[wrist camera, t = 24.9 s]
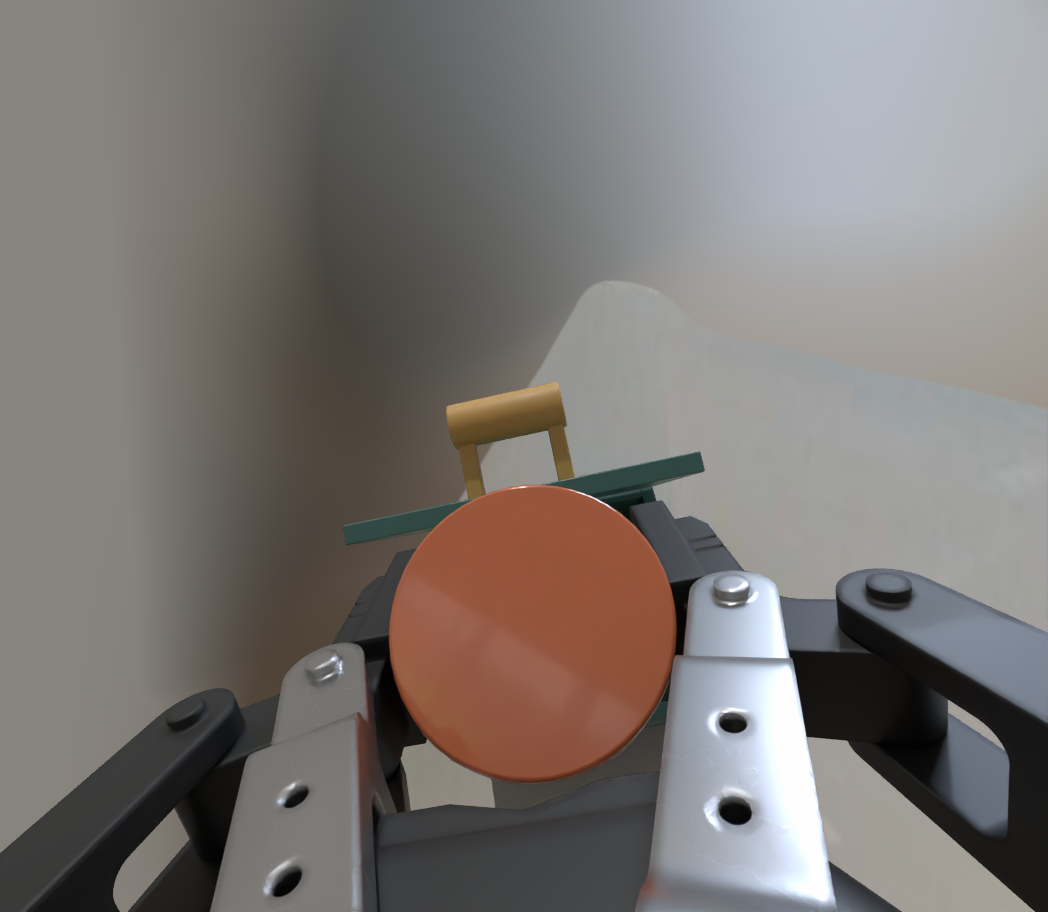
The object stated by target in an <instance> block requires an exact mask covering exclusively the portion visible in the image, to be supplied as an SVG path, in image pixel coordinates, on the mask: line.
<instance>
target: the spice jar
mask: <svg viewBox="0 0 1048 912" xmlns="http://www.w3.org/2000/svg"><path fill="white" fill-rule="evenodd" d="M676 646H677V617H676V607H675V602H674V598H673V593H672V589H671V586H670V584H669V580H668V577H667V574H666V572H665V569H664V567H663V565H662V563H661V562H660V560H659V558H658V556H657V554H656V552H655V551H654V549H653V548H652V546H651V545H650V543H649V542H648V540H647V539H646V538H645V537H644V536H643V534H642V533H641V532H640V531H639V530H638V529H637V528H636V527H635V525H633V524H632V523H631V522H630V521H629V520H628V519H627V518H625V517H624V516H623V515H622V514H621V513H619V512H618V511H616V510H615V509H613V508H612V507H611V506H609V505H608V504H606V503H604V502H602V501H600V500H598V499H596V498H594V497H592V496H590V495H587V494H584V493H581V492H578V491H576V490H571V489H567V488H562V487H558V486H548V485H523V486H516V487H509V488H505V489H501V490H498V491H494V492H491V493H488V494H486V495H483V496H481V497H478V498H476V499H474V500H472V501H470V502H468V503H467V504H465V505H463V506H461V507H460V508H458V509H457V510H455V511H454V512H453V513H451V514H450V515H448V516H447V517H446V518H445V519H444V520H443V521H441V522H440V523H439V524H438V525H437V526H436V527H435V528H434V529H433V530H432V531H431V532H430V533H429V534H428V536H427V537H426V538H425V539H424V540H423V541H422V543H421V544H420V546H419V547H418V548H417V550H416V551H415V552H414V554H413V555H412V557H411V559H410V561H409V563H408V564H407V566H406V568H405V570H404V572H403V575H402V577H401V580H400V582H399V584H398V587H397V590H396V594H395V597H394V601H393V605H392V611H391V618H390V626H389V649H390V661H391V666H392V670H393V675H394V680H395V683H396V685H397V688H398V691H399V694H400V697H401V699H402V701H403V703H404V705H405V707H406V709H407V711H408V713H409V715H410V717H411V718H412V720H413V721H414V722H415V724H416V725H417V727H418V728H419V729H420V731H421V732H422V734H423V735H424V736H425V737H426V738H427V739H428V740H429V741H430V742H431V743H432V744H433V745H434V746H435V747H436V748H437V749H438V750H439V751H441V752H442V753H443V754H444V755H446V756H447V757H448V758H449V759H451V760H452V761H454V762H455V763H457V764H459V765H461V766H462V767H464V768H466V769H468V770H469V771H472V772H474V773H477V774H479V775H482V776H484V777H487V778H490V779H494V780H499V781H503V782H508V783H518V784H540V783H552V782H556V781H560V780H564V779H568V778H573V777H575V776H578V775H580V774H583V773H585V772H587V771H590V770H592V769H594V768H596V767H598V766H600V765H602V764H604V763H606V762H608V761H610V760H612V759H613V758H615V757H617V756H618V755H619V754H621V753H622V752H623V751H624V750H625V749H627V748H628V747H629V745H630V744H631V743H632V742H633V741H634V740H635V739H636V737H637V736H638V735H639V733H640V732H641V731H642V729H643V728H644V727H645V725H646V724H647V722H648V721H649V719H650V718H651V716H652V715H653V714H654V712H655V711H656V709H657V707H658V705H659V703H660V701H661V699H662V697H663V695H664V693H665V691H666V688H667V685H668V682H669V679H670V676H671V673H672V666H673V660H674V657H675V654H676Z"/></svg>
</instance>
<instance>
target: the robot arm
mask: <svg viewBox="0 0 1048 912" xmlns="http://www.w3.org/2000/svg"><path fill="white" fill-rule="evenodd" d="M630 517H631V523H632V524H633V525H635V527H636V528H637V529H638V530H639V531H640V532H641V533H642V534H643V536H644V537H645V538H646V539H647V540H648V542H649V543H650V545H651V546H652V548H653V549H654V551H655V552H656V554H657V556H658V558H659V560H660V562H661V563H662V565H663V567H664V569H665V572H666V574H667V577H668V580H669V584H670V586H671V589H672V593H673V598H674V602H675V607H676V617H677V646H676V654H675V657H674V660H673V666H672V675H671V683H670V692H669V701H668V709H667V718H666V726H665V735H664V744H663V752H662V761H661V769H660V770H656V771H650V772H644V773H638V774H632V775H626V776H620V777H614V778H608V779H601V780H598V781H595V782H593V783H591V784H588V785H586V786H583V787H581V788H578V789H576V790H573V791H571V792H568V793H566V794H563V795H561V796H559V797H556V798H554V799H551V800H549V801H546V802H544V803H541V804H539V805H536V806H534V807H531V808H528V809H524V810H512V809H500V808H488V807H475V806H463V805H451V804H450V805H444V806H438V807H432V808H426V809H419V810H413V811H411V809H410V801H409V794H408V787H407V779H406V774H405V770H404V767H403V765H402V762H401V756H402V752H403V748H404V747H407V746H413V745H418V744H424V743H426V740H427V738H426V737H425V736H424V735H423V734H422V732H421V731H420V729H419V728H418V727H417V725H416V724H415V722H414V721H413V720H412V718H411V717H410V715H409V713H408V711H407V709H406V707H405V705H404V703H403V701H402V699H401V697H400V694H399V691H398V688H397V685H396V683H395V680H394V675H393V670H392V666H391V661H390V649H389V626H390V618H391V611H392V605H393V601H394V597H395V594H396V590H397V587H398V584H399V582H400V580H401V577H402V575H403V572H404V570H405V568H406V566H407V564H408V563H409V561H410V559H411V557H412V555H413V554H414V552H415V551H416V550H417V549H411V550H406V551H402V552H397V553H396V555H395V557H394V559H393V561H392V563H391V565H390V566H389V568H388V571H387V572H386V574H385V576H380V577H377V578H376V579H375V580H374V581H373V582H372V583H370V584H369V585H368V586H367V587H366V588H365V589H364V590H362V592H361V594H360V596H359V597H358V599H357V601H356V603H355V606H354V607H353V608H352V610H351V612H350V614H349V618H347V619H346V621H345V622H344V624H343V626H342V628H341V629H340V632H339V633H338V635H337V637H336V638H335V640H334V642H333V644H332V645H329V646H326V647H324V648H321V649H319V650H317V651H315V652H312V653H311V654H309V655H307V656H306V657H304V658H303V659H301V660H300V661H299V662H297V663H296V664H295V665H294V666H293V667H292V668H291V669H290V670H289V671H288V673H287V674H286V676H285V678H284V680H283V683H282V688H281V693H280V694H278V695H276V696H273V697H271V698H268V699H265V700H263V701H260V702H258V703H255V704H252V705H250V706H247V707H245V708H242V709H240V708H239V706H238V704H237V701H236V699H235V697H234V695H233V692H231V691H230V690H228V689H224V688H217V689H211V690H206V691H203V692H200V693H197V694H195V695H192V696H190V697H188V698H186V699H184V700H182V701H180V702H179V703H177V704H175V705H173V706H172V707H170V708H169V709H167V710H166V711H165V712H163V713H162V714H161V715H160V716H158V717H157V718H156V719H155V720H154V721H153V722H151V723H150V724H149V725H148V726H147V727H146V728H144V730H142V731H141V732H140V733H139V734H138V735H137V736H135V737H134V738H133V739H132V740H131V741H130V742H128V743H127V744H126V745H125V746H124V747H123V748H121V749H120V750H119V751H118V752H117V753H116V754H115V755H113V756H112V757H111V758H110V759H109V760H108V761H106V762H105V763H104V764H103V765H102V766H101V767H99V768H98V769H97V770H96V771H95V772H94V773H92V774H91V775H90V776H89V777H88V778H87V779H86V780H84V781H83V782H82V783H81V784H80V785H79V786H77V788H75V789H74V790H73V791H72V792H71V793H69V794H68V795H67V796H66V797H65V798H64V799H62V800H61V801H60V802H59V803H58V804H57V805H56V806H54V807H53V808H52V809H51V810H50V811H49V812H48V813H46V814H45V815H44V816H43V817H42V818H40V819H39V820H38V821H37V822H36V823H35V824H33V825H32V826H31V827H30V828H29V829H28V830H27V831H25V832H24V833H23V834H22V835H21V836H20V837H18V838H17V839H16V840H15V841H14V842H13V843H11V844H10V845H9V846H8V847H7V848H6V849H5V850H4V851H2V852H1V853H0V912H120V911H119V910H118V908H117V906H116V905H115V902H114V900H113V888H114V883H115V879H116V877H117V874H118V872H119V870H120V868H121V866H122V865H123V863H124V862H125V860H126V859H127V858H128V857H129V856H130V854H131V853H132V852H133V851H134V850H135V849H136V848H137V847H138V846H139V845H140V844H141V843H142V842H143V841H144V839H145V838H146V837H147V836H148V835H149V834H150V833H151V832H152V831H153V830H154V829H155V828H156V826H158V825H159V823H160V822H161V821H162V820H163V819H164V818H165V817H166V816H167V815H168V814H169V813H170V812H171V811H172V810H173V809H174V808H175V810H176V812H177V814H178V816H179V818H180V820H181V822H182V824H183V826H184V828H185V830H186V832H187V834H188V836H189V838H190V840H189V841H188V842H187V843H186V845H185V846H184V847H183V848H182V849H181V850H180V851H179V853H178V854H177V855H176V856H175V857H174V858H173V860H172V861H171V862H170V863H169V864H168V865H167V867H166V868H165V869H164V870H163V871H162V872H161V874H160V875H159V876H158V877H157V878H156V879H155V881H154V882H153V883H152V884H151V885H150V886H149V888H148V889H147V890H146V891H145V892H144V893H143V895H142V896H141V897H140V898H139V899H138V901H137V902H136V903H135V904H134V905H133V906H132V907H131V909H130V910H129V911H128V912H901V911H900V910H898V909H897V908H896V907H894V906H893V905H891V904H890V903H888V902H887V901H886V900H884V899H883V898H881V897H880V896H878V895H877V894H875V893H874V892H873V891H871V890H870V889H868V888H867V887H865V886H864V885H863V884H861V883H860V882H858V881H857V880H855V879H854V878H852V877H851V876H850V875H848V874H847V873H845V872H844V871H842V870H841V869H840V868H838V867H837V866H835V865H834V864H832V863H831V862H829V861H828V856H827V851H826V845H825V839H824V834H823V828H822V822H821V817H820V811H819V805H818V800H817V794H816V788H815V783H814V777H813V771H812V765H811V760H810V754H809V748H808V743H807V737H815V738H826V739H837V740H847V741H848V742H849V745H850V746H851V747H852V749H853V750H854V751H855V752H856V753H857V754H858V755H859V756H860V757H861V758H862V759H863V760H864V761H865V762H866V763H868V764H869V765H870V766H871V767H872V768H873V769H874V770H875V771H877V772H878V773H879V774H880V775H881V776H882V777H883V778H885V779H886V780H887V781H888V782H889V783H890V784H891V785H892V786H894V787H895V788H896V789H897V790H898V791H899V792H900V793H902V794H903V795H904V796H905V797H906V798H907V799H908V800H909V801H911V802H912V803H913V804H914V805H915V806H916V807H917V808H918V809H920V810H921V811H922V812H923V813H924V814H925V815H926V816H928V817H929V818H930V819H931V820H932V821H933V822H934V823H935V824H937V825H938V826H939V827H940V828H941V829H942V830H943V831H944V832H946V833H947V834H948V835H949V836H950V837H951V838H952V839H954V840H955V841H956V842H957V843H958V844H959V845H960V846H961V847H963V848H964V849H965V850H966V851H967V852H968V853H969V854H970V855H972V856H973V857H974V858H975V859H976V860H977V861H978V862H980V863H981V864H982V865H983V866H984V867H985V868H986V869H987V870H989V871H990V872H991V873H992V874H993V875H994V876H995V877H997V878H998V879H999V880H1000V881H1001V882H1002V883H1003V884H1004V885H1006V886H1007V887H1008V888H1009V889H1010V890H1011V891H1012V892H1013V893H1015V894H1016V895H1017V896H1018V897H1019V898H1020V899H1021V900H1023V901H1024V902H1025V903H1026V904H1027V905H1028V906H1029V907H1030V908H1032V909H1033V910H1034V911H1035V912H1048V633H1047V632H1045V631H1042V630H1040V629H1038V628H1036V627H1034V626H1031V625H1029V624H1027V623H1025V622H1023V621H1020V620H1018V619H1016V618H1014V617H1012V616H1009V615H1007V614H1005V613H1003V612H1000V611H998V610H996V609H994V608H992V607H989V606H987V605H985V604H983V603H981V602H978V601H976V600H974V599H972V598H970V597H967V596H965V595H963V594H961V593H958V592H956V591H954V590H952V589H950V588H947V587H945V586H943V585H941V584H939V583H936V582H934V581H932V580H930V579H927V578H925V577H923V576H920V575H917V574H914V573H911V572H906V571H901V570H894V569H866V570H861V571H856V572H853V573H850V574H848V575H846V576H844V577H843V578H841V579H840V580H839V581H838V583H837V585H836V600H825V599H794V598H787V597H782V596H779V592H778V589H777V587H776V585H775V584H774V583H773V582H772V581H771V580H769V579H768V578H766V577H764V576H762V575H759V574H756V573H752V572H747V571H744V570H743V569H742V567H741V566H740V565H739V564H738V562H737V561H736V560H735V558H734V557H733V556H732V555H731V553H730V552H729V551H728V549H727V548H726V547H725V546H724V545H723V543H722V542H721V540H720V539H719V538H718V537H717V536H716V534H715V533H714V531H713V530H712V529H711V528H710V526H709V525H708V524H707V523H705V522H702V521H700V520H698V519H696V518H694V517H691V516H689V517H684V518H679V519H674V518H673V516H672V514H671V513H670V511H669V510H668V508H667V507H666V505H665V504H664V502H663V501H662V500H660V501H655V502H650V503H645V504H640V505H635V506H630ZM948 700H950V701H951V702H953V703H954V704H956V705H957V706H959V707H961V708H962V709H964V710H965V711H967V712H968V713H970V714H971V715H973V716H974V717H976V718H977V719H979V720H980V721H982V722H983V723H984V724H985V725H986V726H988V727H989V728H990V729H991V730H992V731H993V733H994V734H995V735H996V736H997V737H998V739H999V740H1000V742H1001V743H1002V745H1003V747H1004V748H1005V750H1006V751H1005V750H1003V749H1002V748H1000V747H999V746H997V745H996V744H994V743H993V742H991V741H990V740H988V739H987V738H985V737H984V736H982V735H981V734H979V733H978V732H976V731H975V730H973V729H972V728H970V727H969V726H967V725H966V724H964V723H963V722H961V721H960V720H958V719H957V718H955V717H954V716H952V715H951V714H949V713H948Z"/></svg>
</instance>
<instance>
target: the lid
mask: <svg viewBox="0 0 1048 912" xmlns="http://www.w3.org/2000/svg"><path fill="white" fill-rule="evenodd" d="M446 414H447V422H448V428H449V432H450V436H451V439H452V442H453V444H454V446H455V448H456V449H458V450H459V451H460V456H461V462H462V467H463V473H464V478H465V483H466V488H467V494H468V499H469V500H465V501H460V502H455V503H450V504H446V505H441V506H436V507H432V508H426V509H422V510H417V511H412V512H407V513H402V514H398V515H393V516H388V517H383V518H378V519H374V520H369V521H364V522H360V523H354V524H350V525H345V526H343V531H344V537H345V543H346V545H351V544H357V543H364V542H370V541H376V540H383V539H389V538H395V537H401V536H408V535H413V534H420V533H427V532H431V531H432V530H433V529H434V528H435V527H436V526H437V525H438V524H439V523H440V522H441V521H443V520H444V519H445V518H446V517H447V516H448V515H450V514H451V513H453V512H454V511H455V510H457V509H458V508H460V507H461V506H463V505H465V504H467V503H468V502H470V501H472V500H474V499H476V498H478V497H481V496H483V495H486V493H485V488H484V483H483V478H482V473H481V468H480V462H479V457H478V452H477V447H476V446H477V445H482V444H487V443H491V442H496V441H501V440H505V439H510V438H515V437H519V436H524V435H528V434H533V433H538V432H542V431H547V430H548V432H549V437H550V442H551V447H552V451H553V456H554V461H555V466H556V470H557V475H558V480H559V481H555V482H551V483H546V484H541V485H548V486H558V487H562V488H567V489H571V490H576V491H578V492H581V493H584V494H587V495H590V496H592V497H594V498H599V497H604V496H608V495H613V494H618V493H623V492H628V491H633V490H638V489H643V488H647V487H652V486H656V485H659V484H663V483H666V482H670V481H673V480H676V479H680V478H683V477H687V476H690V475H694V474H697V473H701V472H704V471H705V469H704V465H703V461H702V457H701V453H700V452H694V453H690V454H685V455H680V456H675V457H670V458H666V459H661V460H656V461H651V462H646V463H642V464H637V465H632V466H627V467H622V468H618V469H613V470H608V471H603V472H599V473H594V474H589V475H584V476H579V477H574V472H573V467H572V463H571V458H570V453H569V449H568V444H567V439H566V435H565V430H564V427H566V426H567V423H566V417H565V412H564V407H563V403H562V398H561V393H560V389H559V385H558V382H554V383H549V384H545V385H540V386H536V387H531V388H527V389H522V390H517V391H513V392H509V393H504V394H499V395H495V396H491V397H486V398H482V399H477V400H473V401H468V402H464V403H459V404H455V405H450V406H448V407H447V410H446Z"/></svg>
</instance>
